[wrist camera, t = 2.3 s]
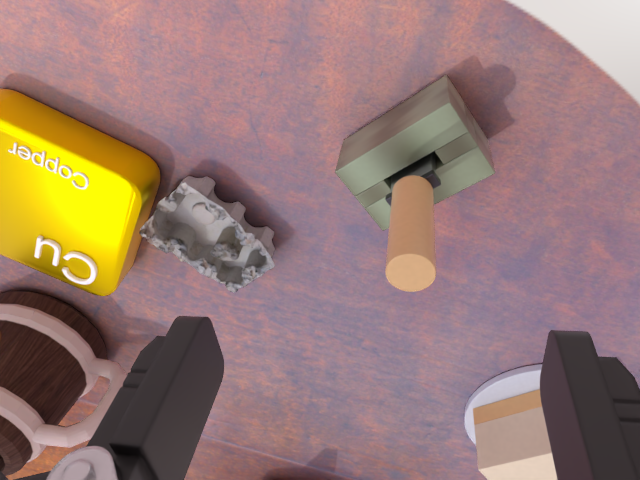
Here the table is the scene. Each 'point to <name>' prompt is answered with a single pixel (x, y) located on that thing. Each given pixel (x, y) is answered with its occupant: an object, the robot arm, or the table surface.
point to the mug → (47, 376)
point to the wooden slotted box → (513, 439)
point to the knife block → (416, 148)
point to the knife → (412, 226)
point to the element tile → (70, 196)
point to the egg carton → (210, 234)
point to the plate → (501, 391)
